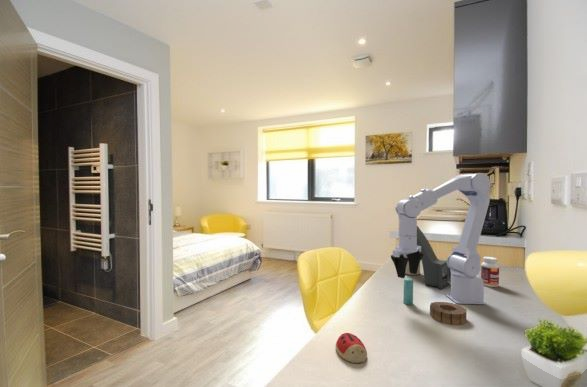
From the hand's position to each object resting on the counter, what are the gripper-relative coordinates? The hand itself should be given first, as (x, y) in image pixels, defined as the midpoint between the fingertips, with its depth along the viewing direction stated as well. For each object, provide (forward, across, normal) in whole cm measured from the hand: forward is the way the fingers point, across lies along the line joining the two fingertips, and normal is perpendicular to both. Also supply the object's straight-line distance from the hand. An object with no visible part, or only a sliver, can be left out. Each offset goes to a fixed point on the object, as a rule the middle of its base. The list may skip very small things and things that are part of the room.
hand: (407, 275), depth 103 cm
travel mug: (+10, -36, -19) cm, 42 cm away
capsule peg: (+9, 0, 0) cm, 9 cm away
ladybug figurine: (+10, +39, +9) cm, 41 cm away
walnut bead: (+9, +1, +14) cm, 17 cm away
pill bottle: (+10, -45, +10) cm, 47 cm away
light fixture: (+10, -27, -8) cm, 30 cm away
